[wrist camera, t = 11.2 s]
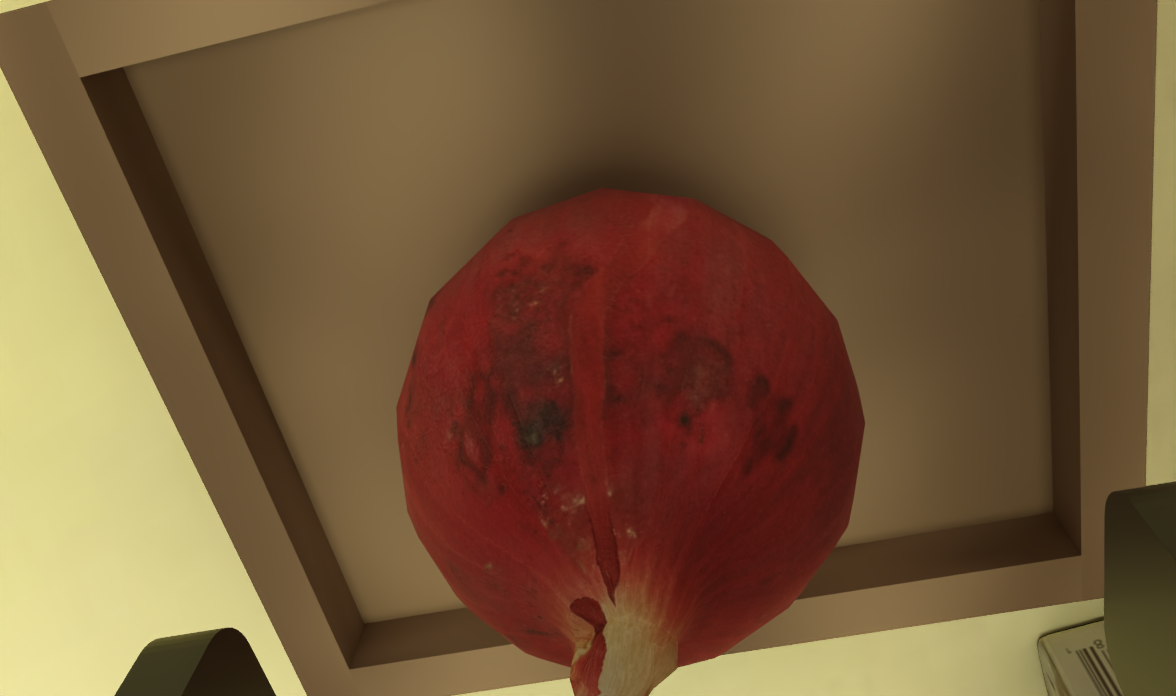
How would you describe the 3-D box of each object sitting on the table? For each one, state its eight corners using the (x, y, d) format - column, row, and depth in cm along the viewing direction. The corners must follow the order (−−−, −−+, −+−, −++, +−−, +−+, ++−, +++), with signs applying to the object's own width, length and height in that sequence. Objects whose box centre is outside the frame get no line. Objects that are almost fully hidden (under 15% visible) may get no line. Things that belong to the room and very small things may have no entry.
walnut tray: (1089, -270, 13) (1163, -290, 11) (1092, 520, 18) (1143, 591, 17) (55, -1, 15) (-24, 19, 13) (343, 640, 20) (317, 715, 19)
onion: (394, 208, 15) (172, 501, 8) (747, 72, 14) (852, 274, 7) (538, 500, 18) (463, 931, 10) (854, 403, 16) (1016, 815, 9)
